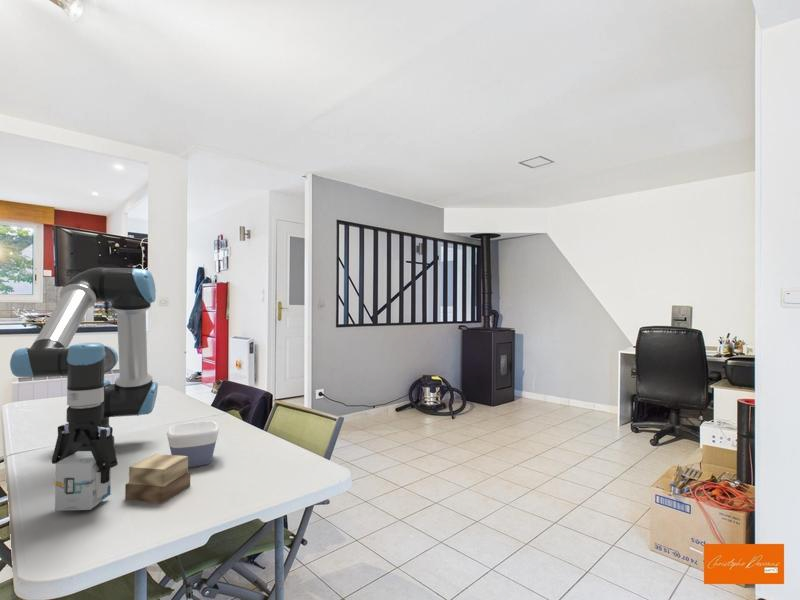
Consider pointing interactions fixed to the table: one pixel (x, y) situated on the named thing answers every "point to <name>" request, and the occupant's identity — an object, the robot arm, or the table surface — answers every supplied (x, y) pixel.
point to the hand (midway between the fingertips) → (83, 493)
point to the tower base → (157, 490)
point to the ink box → (77, 482)
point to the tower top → (158, 470)
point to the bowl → (194, 441)
